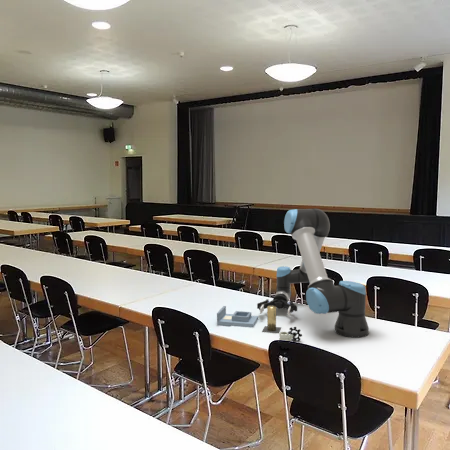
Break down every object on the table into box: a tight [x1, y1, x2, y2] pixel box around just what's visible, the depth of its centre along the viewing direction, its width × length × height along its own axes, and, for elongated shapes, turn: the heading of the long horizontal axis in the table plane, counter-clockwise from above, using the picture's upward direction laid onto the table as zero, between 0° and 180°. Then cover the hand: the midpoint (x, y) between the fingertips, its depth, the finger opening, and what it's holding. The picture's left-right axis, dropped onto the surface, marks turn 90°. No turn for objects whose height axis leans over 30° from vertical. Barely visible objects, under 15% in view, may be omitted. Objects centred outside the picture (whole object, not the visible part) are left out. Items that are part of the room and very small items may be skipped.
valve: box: [278, 326, 303, 342], centre depth 185 cm, size 7×7×12 cm
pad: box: [261, 325, 282, 334], centre depth 203 cm, size 8×8×1 cm
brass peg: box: [266, 306, 277, 331], centre depth 203 cm, size 4×4×11 cm
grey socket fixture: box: [216, 305, 259, 328], centre depth 214 cm, size 18×12×6 cm, turn 75°
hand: (274, 312), depth 211 cm, fingers open, 13 cm apart
